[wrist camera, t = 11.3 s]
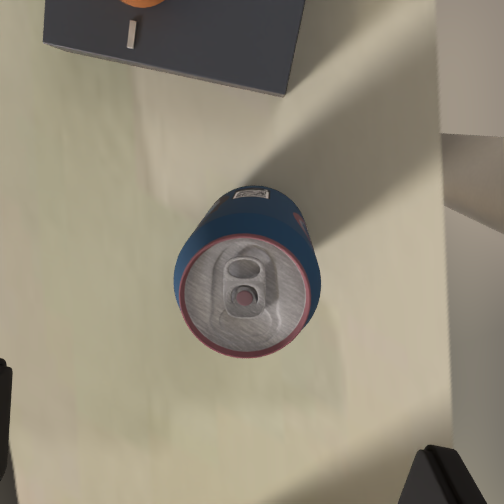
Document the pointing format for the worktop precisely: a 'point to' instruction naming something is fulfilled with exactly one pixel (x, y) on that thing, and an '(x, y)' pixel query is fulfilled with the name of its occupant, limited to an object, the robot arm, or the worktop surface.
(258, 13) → the cooker panel
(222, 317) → the soda can
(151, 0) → the knob
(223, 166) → the worktop surface
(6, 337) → the worktop surface
